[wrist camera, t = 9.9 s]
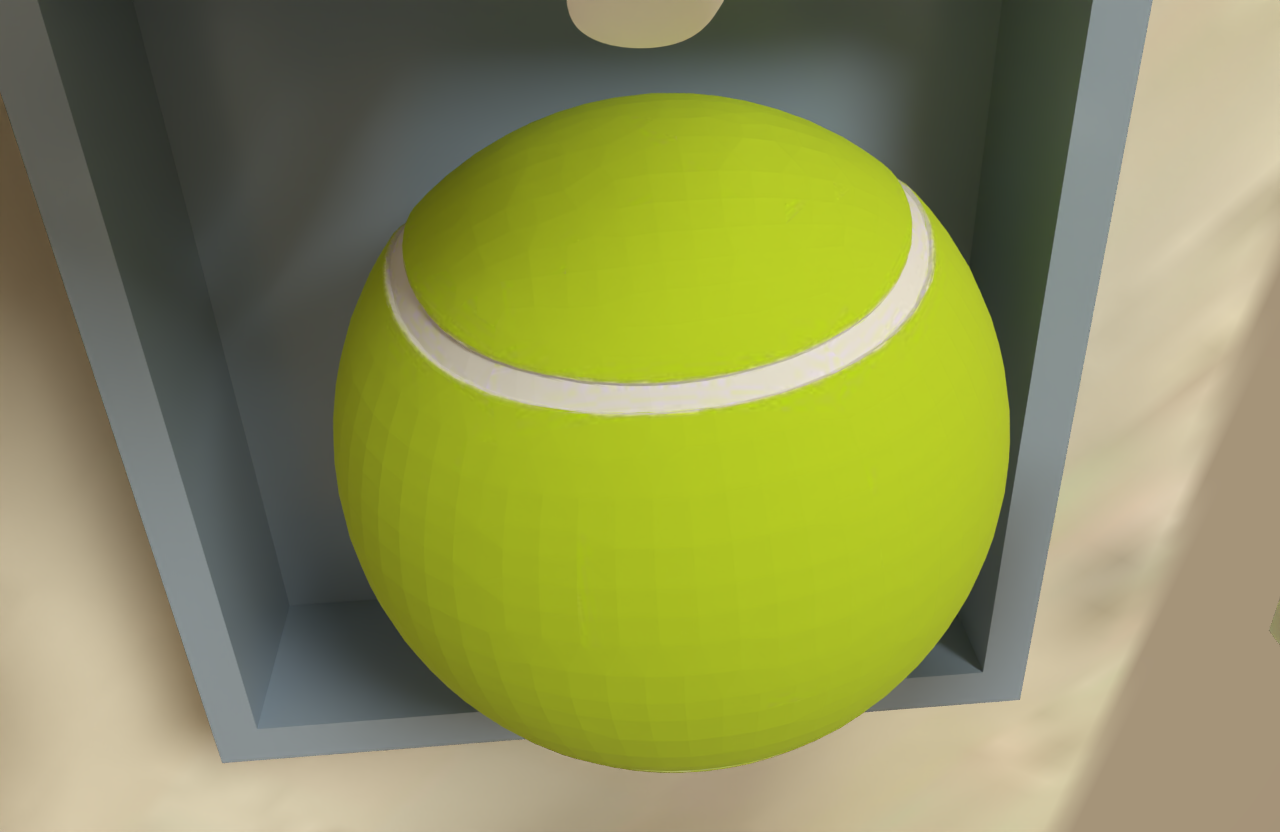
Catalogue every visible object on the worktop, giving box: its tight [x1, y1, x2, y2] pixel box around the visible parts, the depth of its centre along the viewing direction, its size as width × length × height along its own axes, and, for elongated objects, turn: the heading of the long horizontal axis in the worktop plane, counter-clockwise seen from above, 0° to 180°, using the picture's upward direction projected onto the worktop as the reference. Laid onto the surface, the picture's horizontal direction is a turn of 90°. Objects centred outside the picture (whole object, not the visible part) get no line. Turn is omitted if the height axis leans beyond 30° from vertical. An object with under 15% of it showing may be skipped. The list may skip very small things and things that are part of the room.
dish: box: [0, 0, 1152, 763], centre depth 15 cm, size 11×11×3 cm
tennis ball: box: [333, 93, 1010, 773], centre depth 13 cm, size 7×7×7 cm
